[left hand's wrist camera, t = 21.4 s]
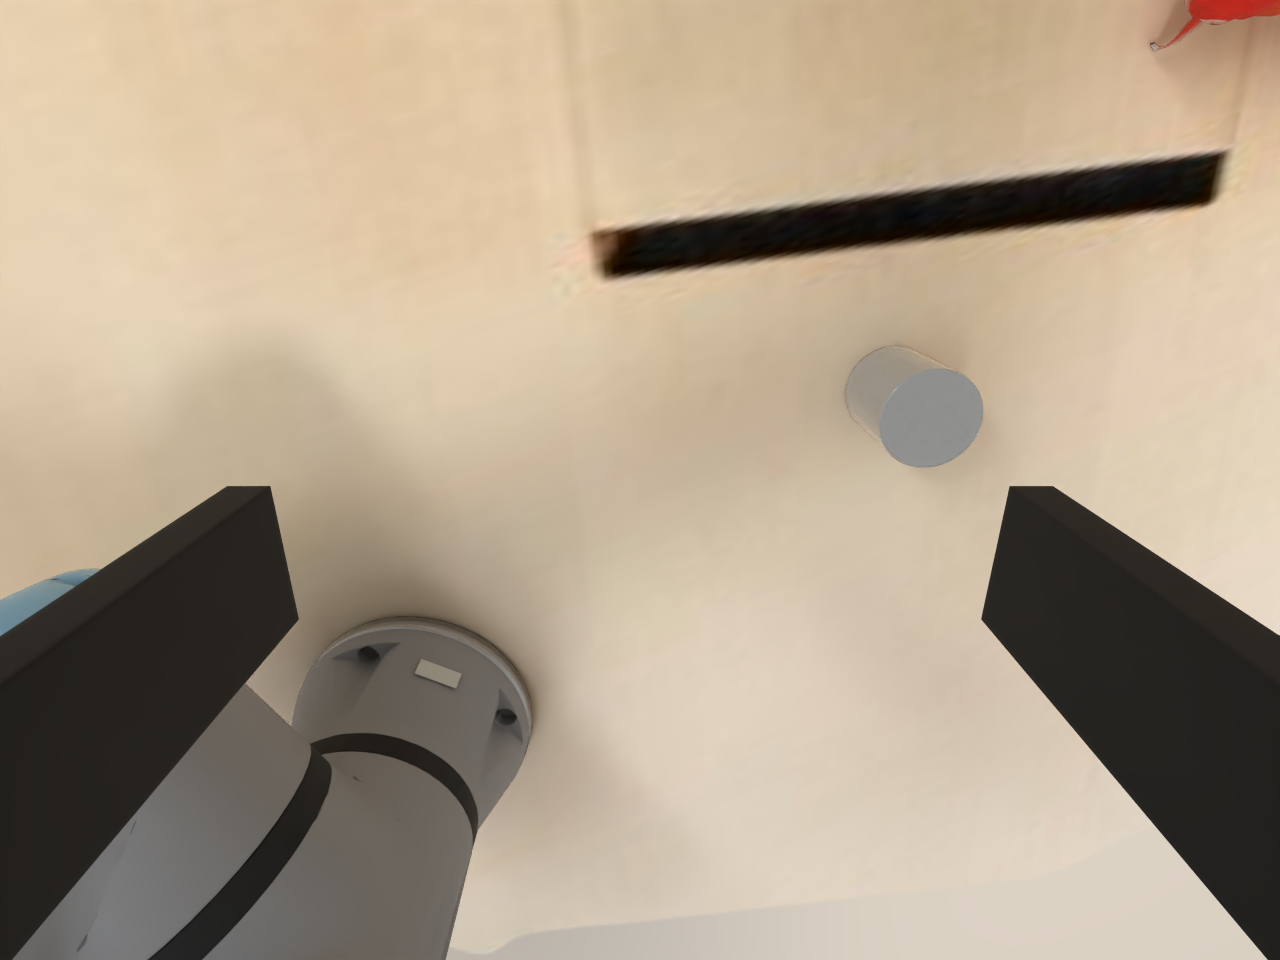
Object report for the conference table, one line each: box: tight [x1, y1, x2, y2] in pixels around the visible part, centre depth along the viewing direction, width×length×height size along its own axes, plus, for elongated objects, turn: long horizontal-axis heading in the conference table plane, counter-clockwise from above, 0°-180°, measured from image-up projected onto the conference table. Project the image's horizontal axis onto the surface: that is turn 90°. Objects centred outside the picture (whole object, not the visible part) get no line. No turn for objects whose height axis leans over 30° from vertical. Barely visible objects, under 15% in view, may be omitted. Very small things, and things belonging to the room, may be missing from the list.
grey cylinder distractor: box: [845, 346, 983, 468], centre depth 36 cm, size 5×5×6 cm
